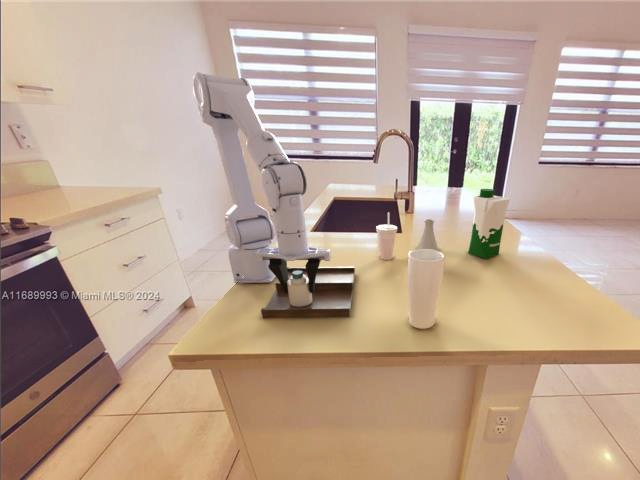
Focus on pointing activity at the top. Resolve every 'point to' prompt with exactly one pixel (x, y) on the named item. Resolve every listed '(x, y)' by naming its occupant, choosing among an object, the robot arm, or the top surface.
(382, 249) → the smoothie
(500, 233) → the milk carton
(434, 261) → the drinking glass
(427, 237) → the flask
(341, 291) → the rack
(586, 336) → the top surface
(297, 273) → the bottle
